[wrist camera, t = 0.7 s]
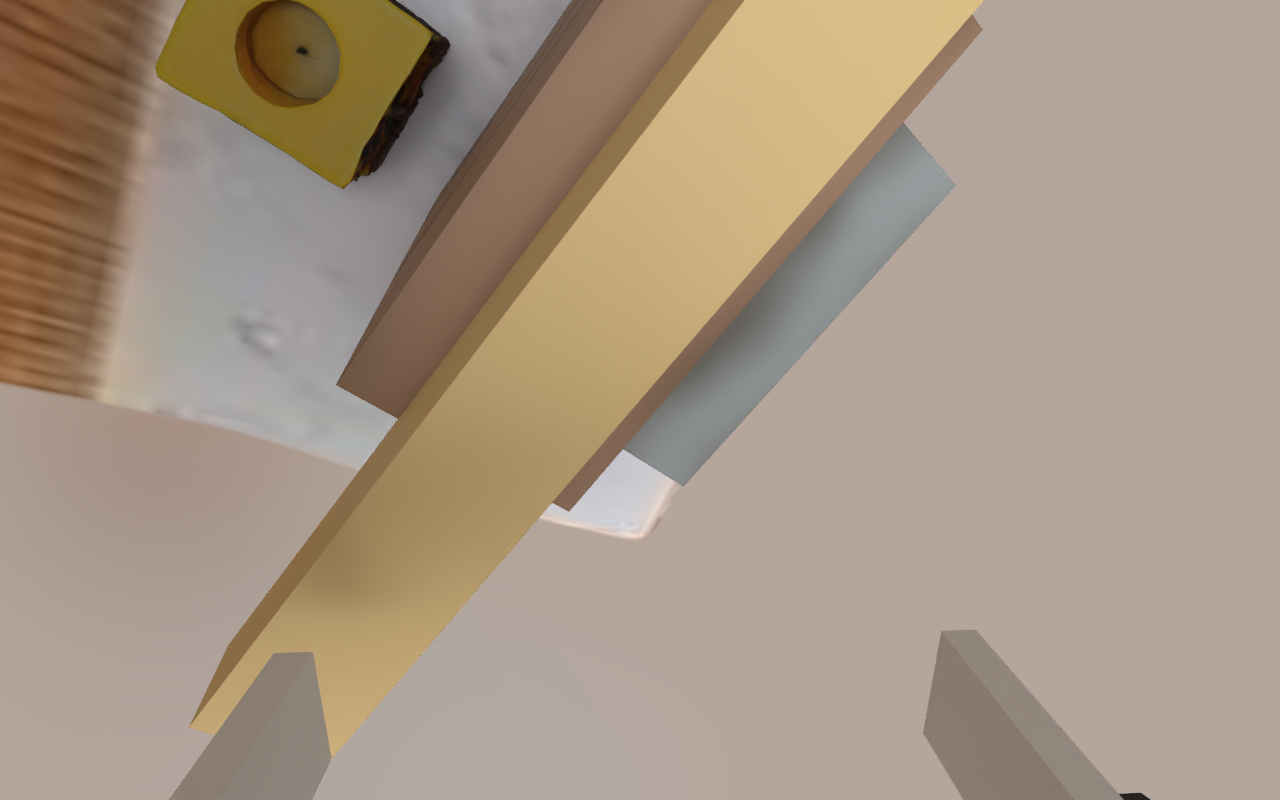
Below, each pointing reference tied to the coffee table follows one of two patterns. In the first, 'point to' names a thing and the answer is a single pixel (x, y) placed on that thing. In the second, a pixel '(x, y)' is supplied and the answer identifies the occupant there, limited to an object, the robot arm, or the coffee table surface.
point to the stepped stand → (551, 165)
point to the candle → (307, 74)
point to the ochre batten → (583, 330)
